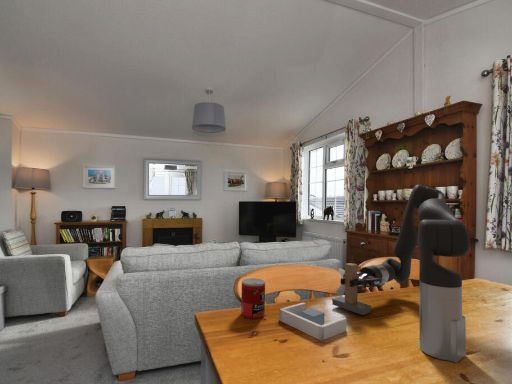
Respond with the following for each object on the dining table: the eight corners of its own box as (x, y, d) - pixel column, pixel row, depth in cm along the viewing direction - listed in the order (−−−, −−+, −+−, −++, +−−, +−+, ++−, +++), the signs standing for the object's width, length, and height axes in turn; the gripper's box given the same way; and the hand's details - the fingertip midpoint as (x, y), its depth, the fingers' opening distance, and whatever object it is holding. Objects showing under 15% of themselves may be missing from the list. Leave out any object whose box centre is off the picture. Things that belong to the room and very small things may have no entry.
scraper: (371, 311, 98) (370, 266, 99) (362, 314, 95) (362, 268, 96) (341, 301, 108) (341, 260, 108) (332, 304, 105) (332, 262, 105)
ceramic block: (324, 326, 89) (324, 312, 89) (313, 330, 86) (313, 316, 86) (311, 320, 93) (311, 308, 93) (300, 324, 90) (300, 311, 90)
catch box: (346, 330, 86) (346, 318, 86) (321, 340, 79) (321, 327, 79) (303, 312, 99) (303, 302, 99) (279, 320, 93) (279, 309, 93)
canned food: (255, 321, 91) (256, 285, 92) (236, 315, 96) (236, 281, 97) (269, 314, 97) (270, 280, 98) (250, 308, 102) (251, 276, 103)
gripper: (357, 262, 116) (329, 267, 106) (391, 269, 105) (364, 275, 95) (357, 281, 116) (329, 288, 105) (392, 290, 105) (364, 299, 94)
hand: (346, 282), depth 100 cm, fingers closed on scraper, 3 cm apart
